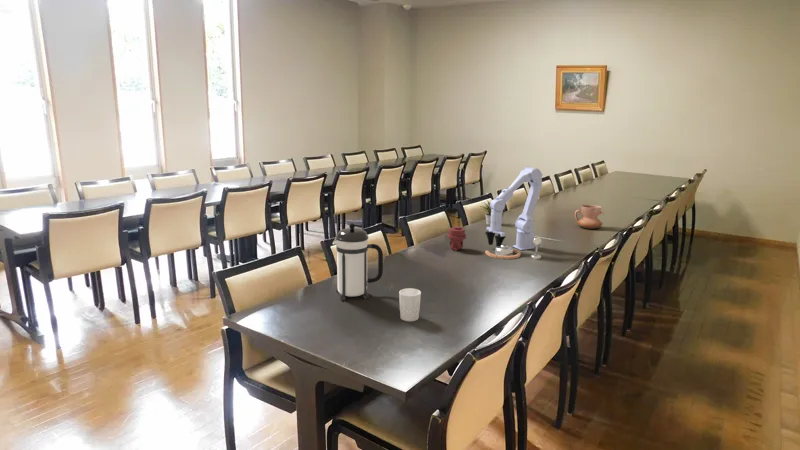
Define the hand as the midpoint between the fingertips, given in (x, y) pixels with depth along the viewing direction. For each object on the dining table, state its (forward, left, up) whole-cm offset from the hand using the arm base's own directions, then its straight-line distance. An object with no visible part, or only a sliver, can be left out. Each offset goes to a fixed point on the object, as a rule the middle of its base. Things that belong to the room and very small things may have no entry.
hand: (494, 246), depth 276 cm
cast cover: (0, +9, -2) cm, 9 cm away
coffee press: (+91, +36, -2) cm, 98 cm away
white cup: (+80, +65, -2) cm, 103 cm away
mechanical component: (+19, -8, -2) cm, 21 cm away
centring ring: (0, +10, -2) cm, 10 cm away
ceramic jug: (-87, -23, -2) cm, 90 cm away
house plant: (-33, -54, -2) cm, 63 cm away
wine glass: (-12, +20, -2) cm, 23 cm away
